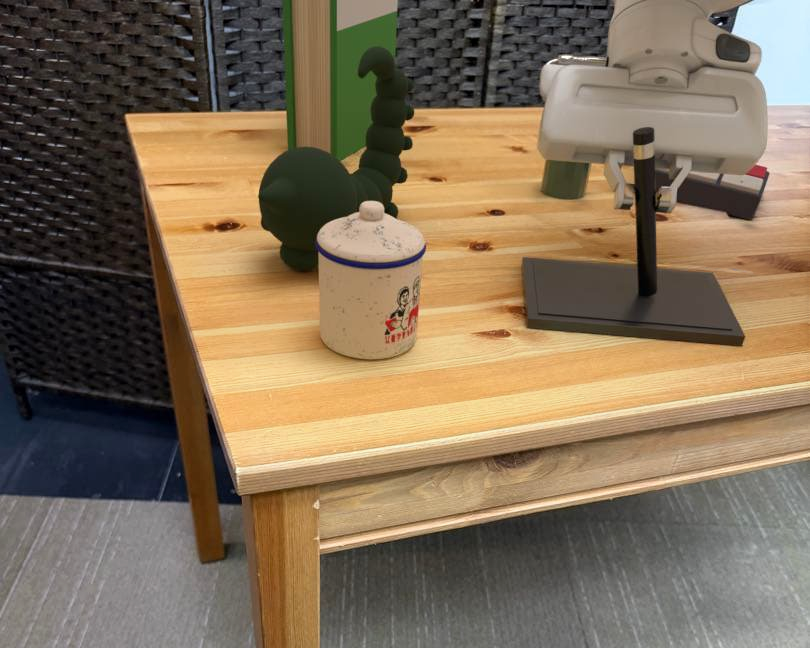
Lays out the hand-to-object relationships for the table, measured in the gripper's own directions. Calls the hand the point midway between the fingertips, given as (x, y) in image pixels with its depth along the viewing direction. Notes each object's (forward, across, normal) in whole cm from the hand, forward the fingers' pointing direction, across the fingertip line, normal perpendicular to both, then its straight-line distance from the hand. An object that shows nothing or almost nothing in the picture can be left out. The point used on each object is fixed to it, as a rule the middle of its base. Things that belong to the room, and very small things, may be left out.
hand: (644, 208), depth 74 cm
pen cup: (-15, -3, +28) cm, 32 cm away
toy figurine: (+1, -29, +13) cm, 32 cm away
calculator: (-18, +15, +31) cm, 39 cm away
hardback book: (-26, -33, +39) cm, 58 cm away
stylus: (+5, +2, +6) cm, 9 cm away
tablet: (+6, 0, +7) cm, 10 cm away
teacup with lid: (+13, -24, 0) cm, 27 cm away
